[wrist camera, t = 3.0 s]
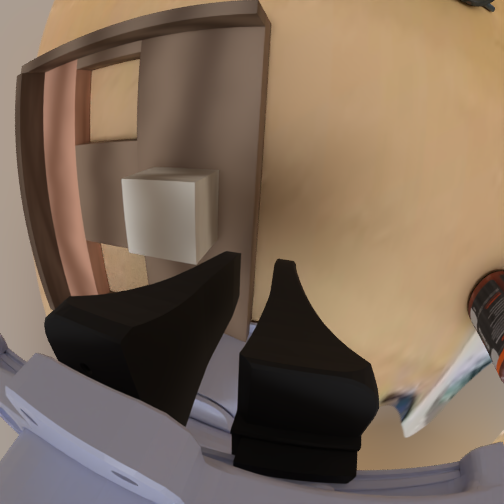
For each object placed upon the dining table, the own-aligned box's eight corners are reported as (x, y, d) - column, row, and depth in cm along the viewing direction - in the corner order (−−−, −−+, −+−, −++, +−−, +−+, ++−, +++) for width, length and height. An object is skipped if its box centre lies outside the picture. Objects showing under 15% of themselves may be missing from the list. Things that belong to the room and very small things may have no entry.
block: (218, 170, 18) (194, 182, 15) (217, 239, 21) (196, 264, 17) (154, 167, 19) (121, 178, 16) (157, 230, 21) (128, 252, 18)
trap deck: (271, 23, 15) (256, -4, 10) (249, 339, 27) (236, 378, 22) (54, 66, 19) (18, 66, 14) (78, 293, 31) (53, 316, 26)
